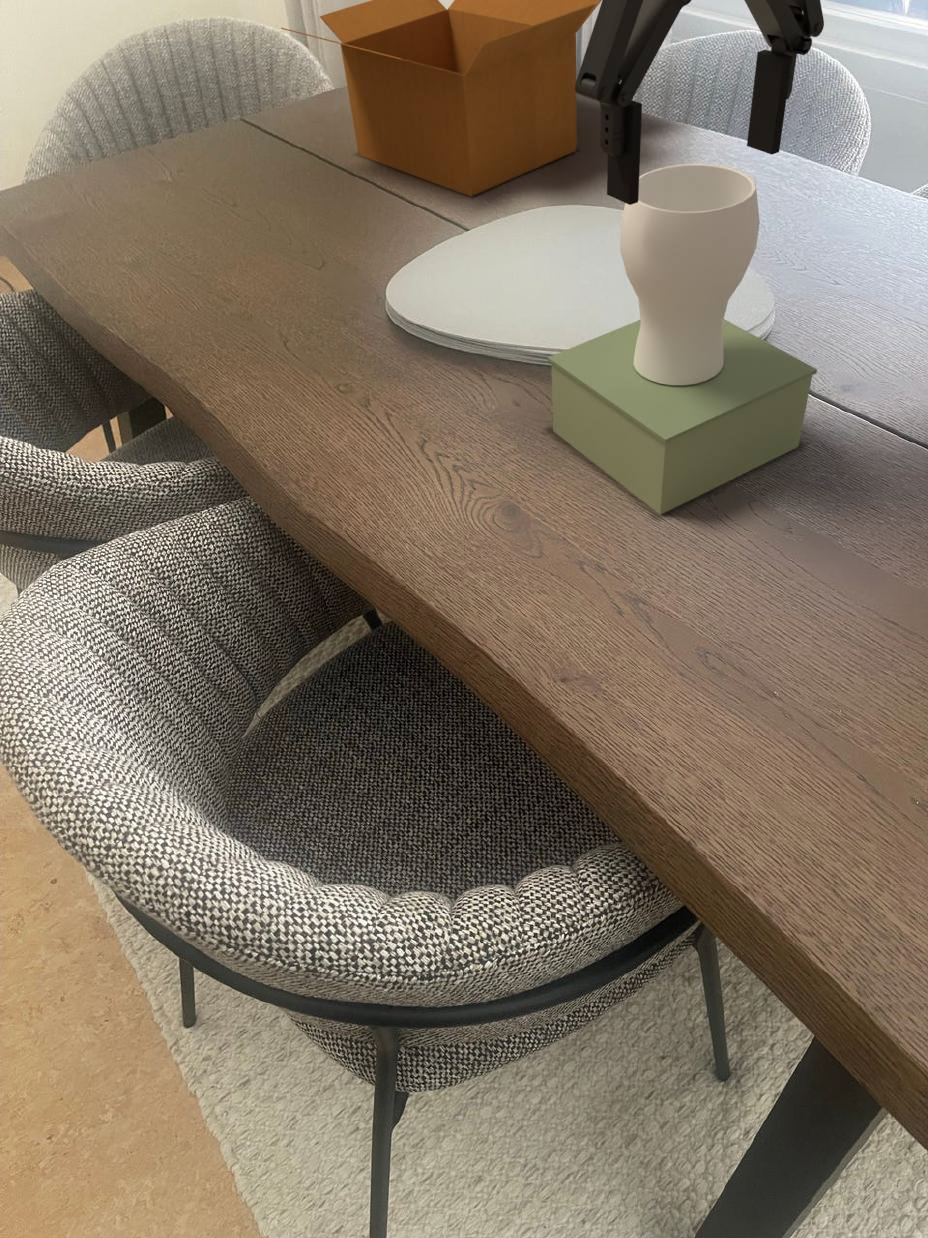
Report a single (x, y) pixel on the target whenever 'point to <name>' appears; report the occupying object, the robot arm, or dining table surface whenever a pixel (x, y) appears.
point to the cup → (687, 265)
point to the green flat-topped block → (678, 414)
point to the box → (462, 85)
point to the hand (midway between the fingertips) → (694, 173)
